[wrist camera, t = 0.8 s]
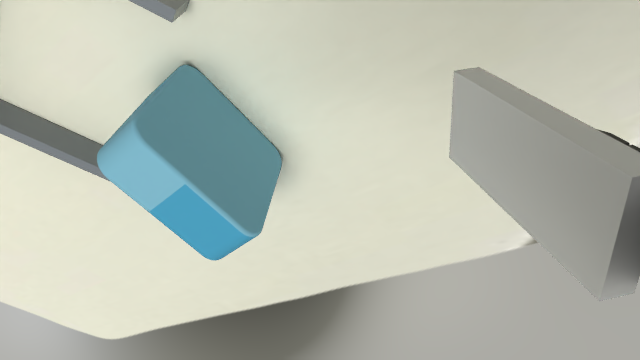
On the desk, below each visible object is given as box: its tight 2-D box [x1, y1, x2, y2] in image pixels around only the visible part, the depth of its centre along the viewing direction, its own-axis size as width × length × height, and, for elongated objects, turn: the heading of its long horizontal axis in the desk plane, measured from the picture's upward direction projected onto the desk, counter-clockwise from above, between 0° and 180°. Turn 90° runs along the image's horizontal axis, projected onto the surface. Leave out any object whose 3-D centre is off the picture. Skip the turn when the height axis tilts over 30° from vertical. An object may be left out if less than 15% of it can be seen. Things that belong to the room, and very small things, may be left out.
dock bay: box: [0, 0, 189, 181], centre depth 40 cm, size 18×15×3 cm
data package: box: [97, 65, 282, 260], centre depth 38 cm, size 12×4×12 cm, turn 41°
